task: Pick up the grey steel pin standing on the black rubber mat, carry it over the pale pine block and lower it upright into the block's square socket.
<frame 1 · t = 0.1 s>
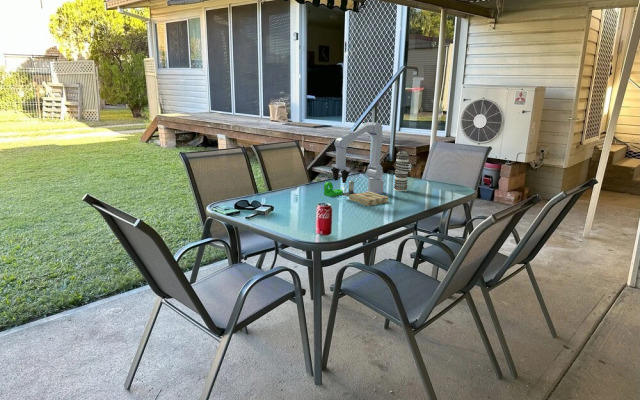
hand: (340, 181, 253), 10 cm above the table, tool pointing down, fingers open, 7 cm apart
mat: (351, 194, 265), on the table
pin: (351, 194, 265), resting on mat
grey striped cylinder: (400, 190, 280), on the table
socket block: (368, 200, 251), on the table
mechanical part: (334, 194, 263), on the table, touching mat
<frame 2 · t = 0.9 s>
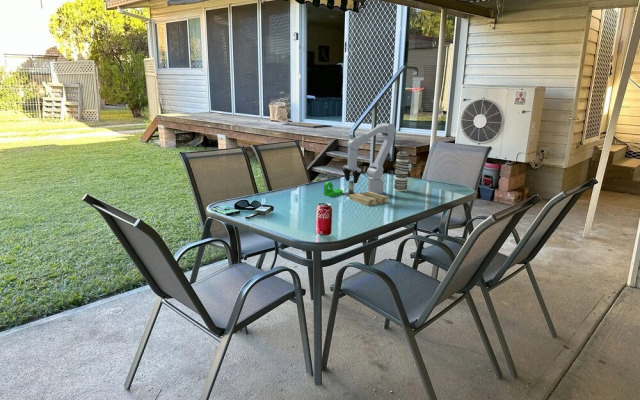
hand: (351, 181, 263), 8 cm above the table, tool pointing down, fingers open, 7 cm apart
nothing on the table moved.
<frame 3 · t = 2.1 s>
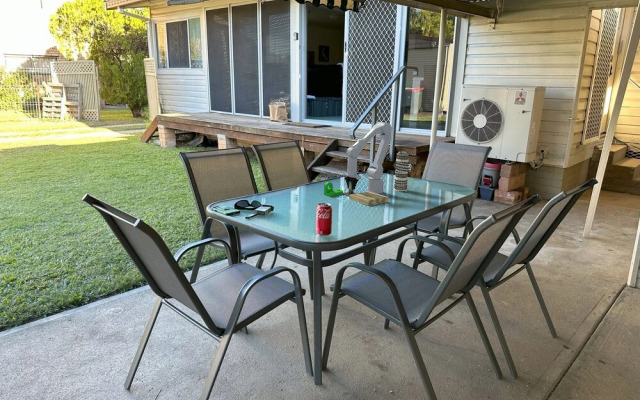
hand: (351, 189, 264), 4 cm above the table, tool pointing down, fingers closed on pin, 3 cm apart
pin: (351, 194, 265), resting on mat, touching gripper
everything else where it was.
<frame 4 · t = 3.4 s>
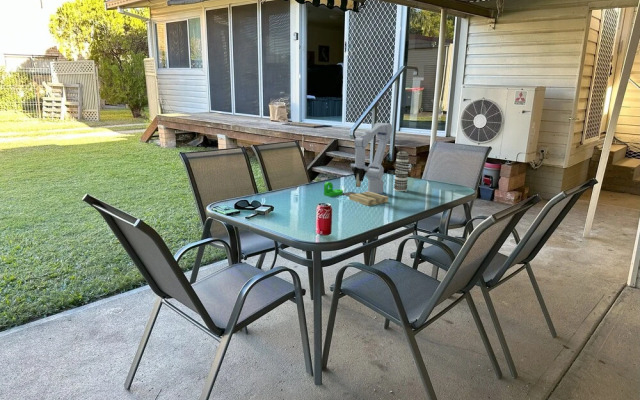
hand: (359, 180, 256), 10 cm above the table, tool pointing down, fingers closed on pin, 3 cm apart
pin: (358, 186, 257), point 7 cm above the table, touching gripper
everything else where it was.
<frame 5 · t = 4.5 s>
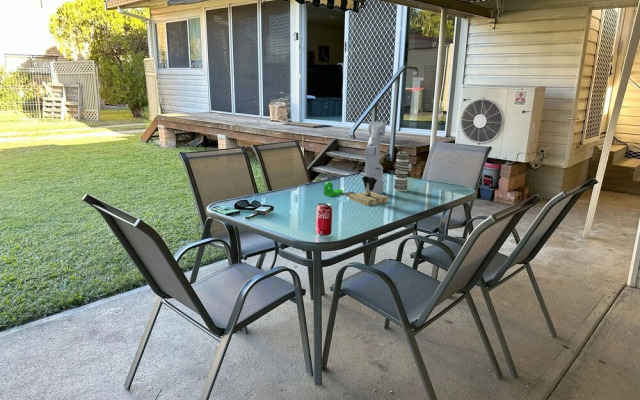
hand: (369, 189, 249), 7 cm above the table, tool pointing down, fingers closed on pin, 3 cm apart
pin: (367, 196, 250), point 3 cm above the table, touching gripper
everything else where it was.
when the fingers open (5 cm above the table, at t = 5.2 s): pin stays where it is, resting on socket block.
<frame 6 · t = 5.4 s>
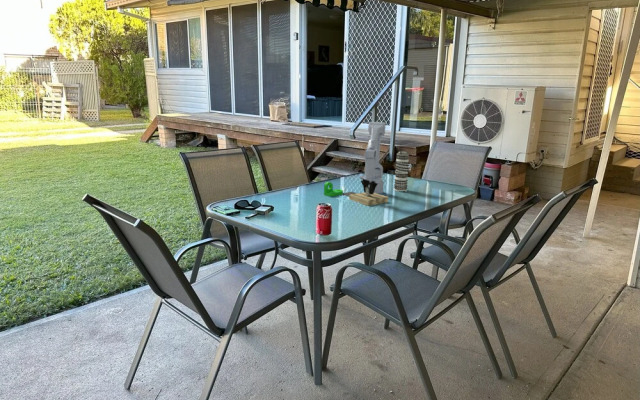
hand: (368, 193, 250), 5 cm above the table, tool pointing down, fingers open, 4 cm apart
pin: (367, 200, 251), resting on socket block
everything else where it was.
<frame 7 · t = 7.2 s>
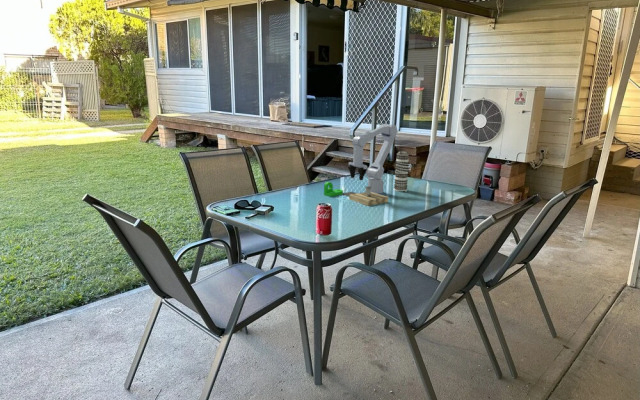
hand: (356, 178, 260), 10 cm above the table, tool pointing down, fingers open, 7 cm apart
nothing on the table moved.
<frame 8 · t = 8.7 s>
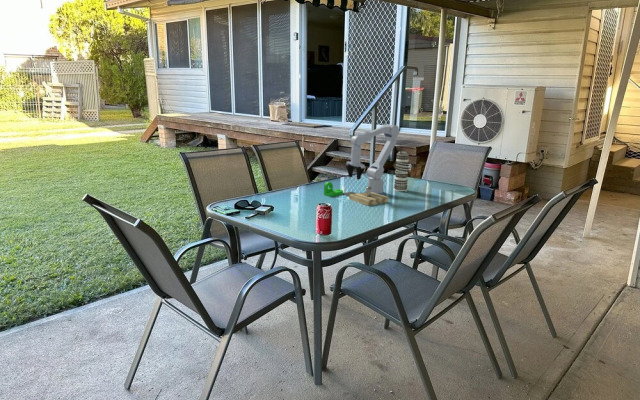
hand: (354, 178, 262), 10 cm above the table, tool pointing down, fingers open, 7 cm apart
nothing on the table moved.
at the end: pin 0.4 cm off-centre on the socket block, point 0.2 cm above the socket block's base; pin tilted 1°; the gripper is holding nothing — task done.
